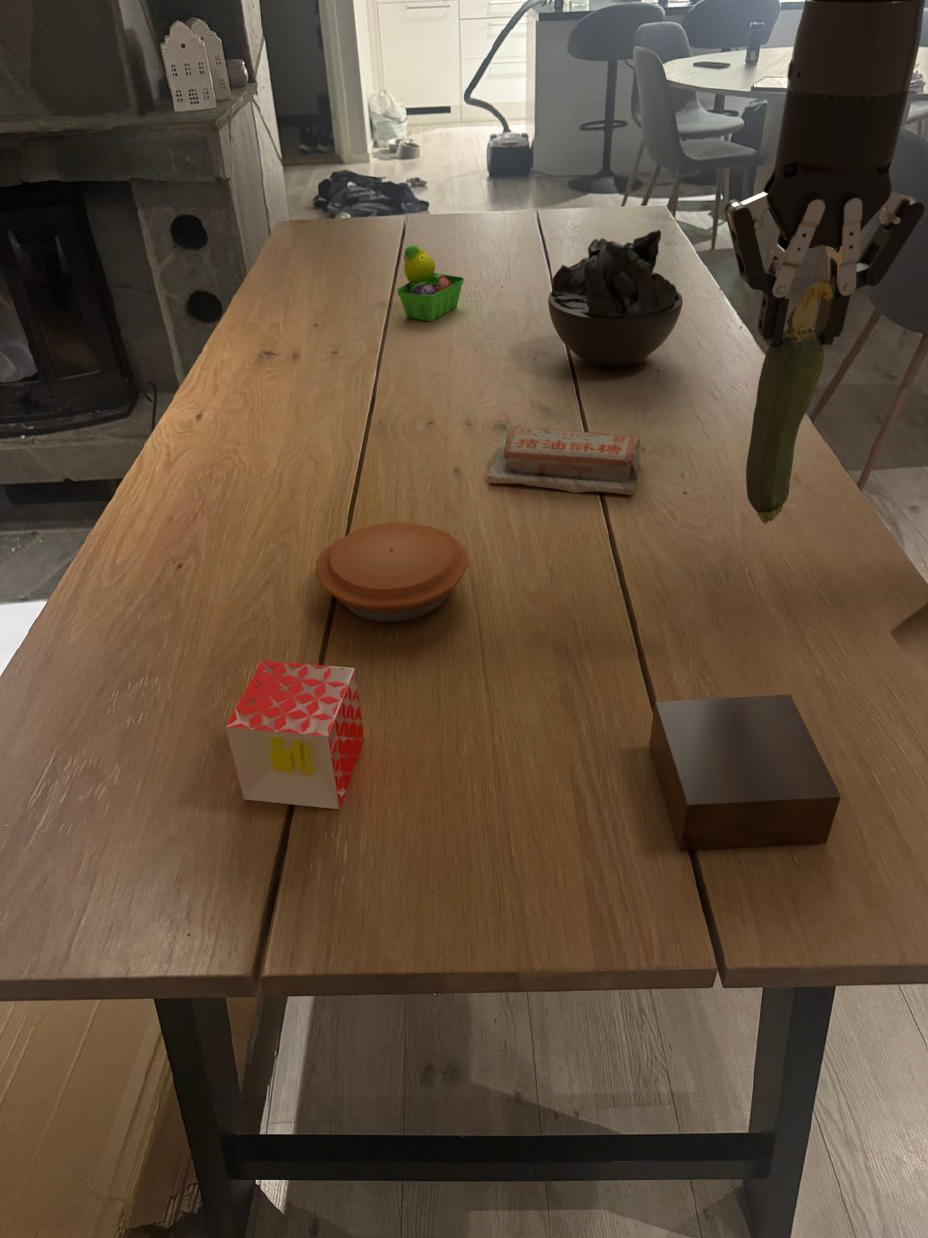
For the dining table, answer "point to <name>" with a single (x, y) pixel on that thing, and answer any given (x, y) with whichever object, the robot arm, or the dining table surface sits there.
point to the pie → (392, 570)
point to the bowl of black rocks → (614, 302)
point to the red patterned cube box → (297, 734)
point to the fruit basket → (427, 287)
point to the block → (741, 773)
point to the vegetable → (784, 405)
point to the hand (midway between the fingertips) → (797, 341)
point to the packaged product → (567, 460)
